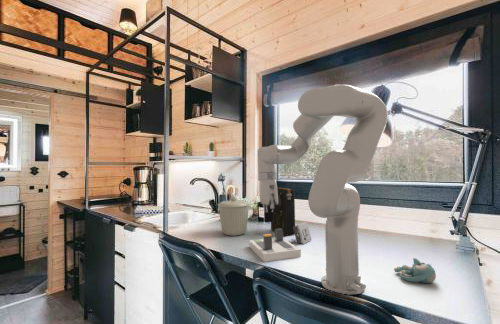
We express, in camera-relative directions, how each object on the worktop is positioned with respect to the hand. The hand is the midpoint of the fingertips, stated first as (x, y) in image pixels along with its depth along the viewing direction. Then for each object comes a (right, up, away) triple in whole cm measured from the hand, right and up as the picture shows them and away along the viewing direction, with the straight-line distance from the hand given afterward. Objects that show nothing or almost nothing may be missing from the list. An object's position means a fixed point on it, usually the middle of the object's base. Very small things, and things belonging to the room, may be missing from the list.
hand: (268, 221), depth 107 cm
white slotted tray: (+3, -15, +7) cm, 17 cm away
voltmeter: (+11, -15, +39) cm, 43 cm away
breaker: (+6, -11, +12) cm, 18 cm away
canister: (-16, -16, +39) cm, 45 cm away
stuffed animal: (+46, -14, -22) cm, 53 cm away
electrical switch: (+18, -15, +21) cm, 32 cm away
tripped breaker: (0, -11, +1) cm, 11 cm away
